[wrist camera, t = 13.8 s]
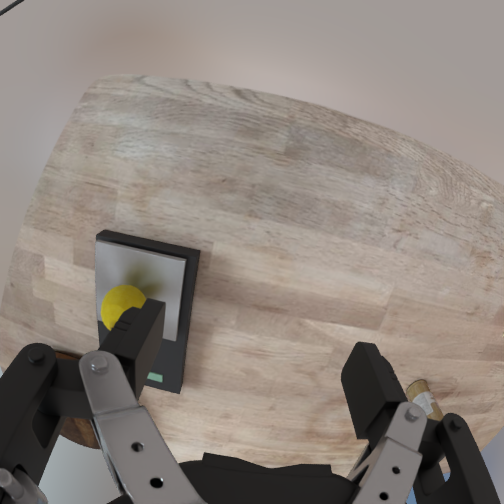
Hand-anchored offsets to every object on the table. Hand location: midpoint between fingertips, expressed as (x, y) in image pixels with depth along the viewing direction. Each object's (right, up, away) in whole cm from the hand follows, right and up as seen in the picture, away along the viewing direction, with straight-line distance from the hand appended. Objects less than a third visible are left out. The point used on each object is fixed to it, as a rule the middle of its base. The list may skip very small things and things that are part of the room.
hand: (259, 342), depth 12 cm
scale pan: (-15, -2, +26) cm, 30 cm away
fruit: (-15, -2, +25) cm, 29 cm away
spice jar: (+31, -22, +36) cm, 53 cm away
